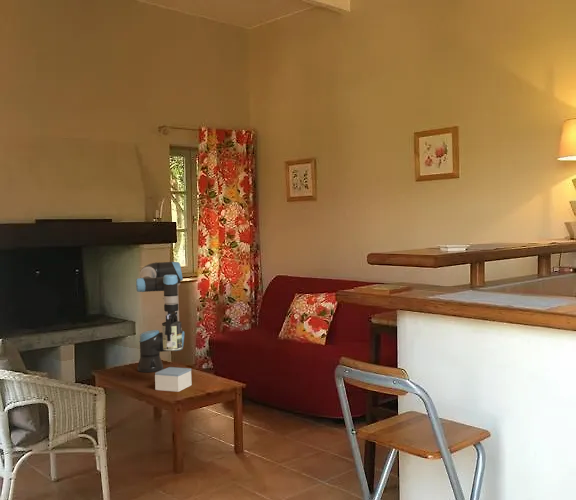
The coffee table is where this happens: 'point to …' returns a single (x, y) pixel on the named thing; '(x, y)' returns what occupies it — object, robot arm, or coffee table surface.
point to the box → (173, 382)
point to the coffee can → (173, 336)
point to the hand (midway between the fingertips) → (172, 344)
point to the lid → (173, 371)
